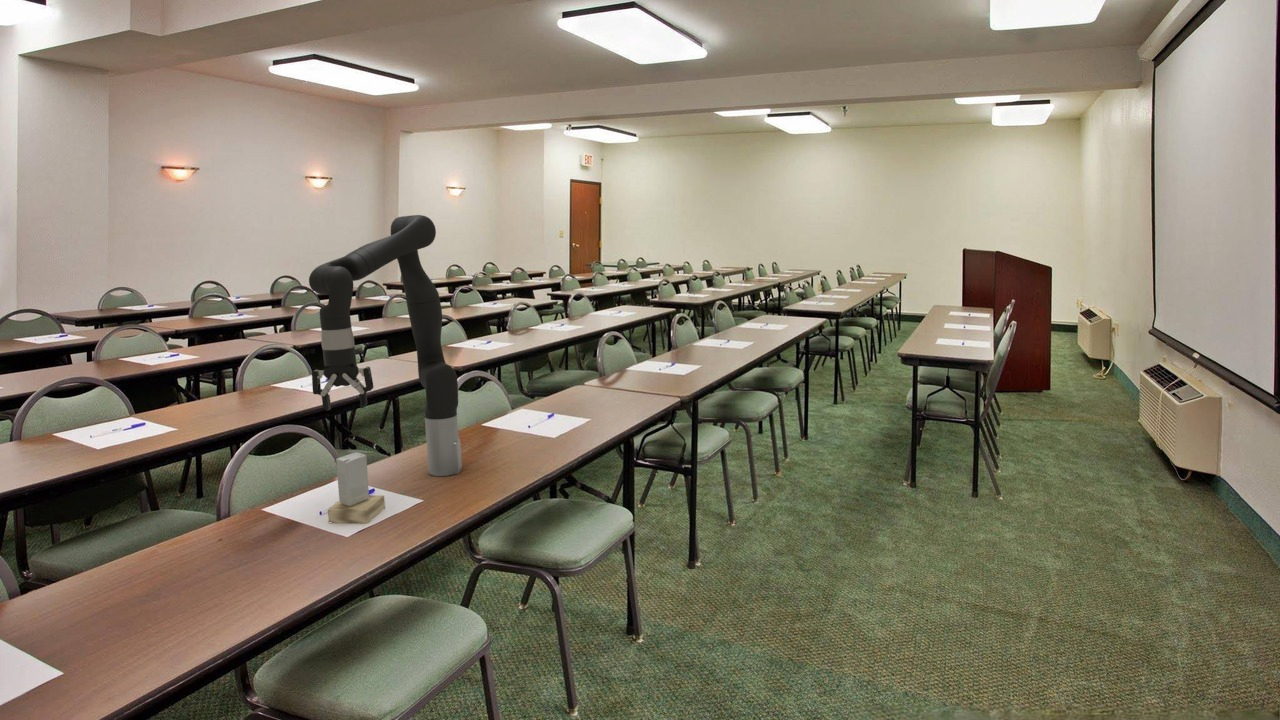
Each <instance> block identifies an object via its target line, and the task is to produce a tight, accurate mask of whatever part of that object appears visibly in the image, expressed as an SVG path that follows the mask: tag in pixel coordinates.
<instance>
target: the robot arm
mask: <svg viewBox="0 0 1280 720" xmlns="http://www.w3.org/2000/svg"><path fill="white" fill-rule="evenodd" d="M436 233H437V231H436V226H435V224H434V221H433V220H432V219H431V218H430V217H429V216H425V215H422V214H411V215H403V216H398V217H396V218H395V219H394V220H393V221H392V222H391V225H390V235H389V236H386V237H383V238H380V239H378V240H374V241H372V242H370V243H369V242H368V243H366V244H365V245H361V246H360V247H358V248H357V249H355V250H353V251H351V252H348V254H346V255H345V256H341V257H339V258H335V259H333V260H331V261H328V262H325V263H322V264H320V265H318V266H316V267H315V268H314V269H313V270H312V271H311V272H310V274H309V278H308V285H309V286H310V288H311V290H312V291H314V293H317V294H318V295H324V296H327V295H328V301H327V304H326V305H323V306H321V307H320V309H319V321H320V329H321V334H320V336H321V339H320V340H321V343H320V344H321V348H322V356H323V364H324V365H323V366H324V369H323V370H319V369H315V370H313V371H312V372H311V381H312V382H311V383H312V385H311V386H312V394H313V395H318V396H320V397H321V401H322V407H323V409H325V411H330V410H332V403H331V397H330V394H329V392H330V391H331V389H332V388H333V387H342V386H343V387H349V386H351V387H353V389H355V390H356V391H357V392H358V393H359V394H358V399H359V406H360V409H364V408H366V406H367V405H368V395H367V393H368V392H371V391H372V390H373V389H374V388H375V387H374V386H375V385H374V381H373V377H372V370H371V367H370V366H366V367H361V368H359V367H358V365H357V364H358V363H357V355H356V354H357V353H356V347H355V346H356V345H355V338H354V332H353V328H352V319H351V312H350V311H351V306H352V301H353V292H354V282H356V281H361V280H362V279H364V278H366V277H368V276H369V275H371V274H372V273H375V272H376V271H378V270H380V269H381V268H383V267H384V266H386V265H387V264H390V263H392V262H393V261H395V260H397V264H398V265H399V271H400V275H401V279H402V285H403V289H404V293H405V300H406V301H405V302H406V307H407V313H408V317H409V323H410V325H411V331H412V336H413V340H414V344H415V347H416V355H417V356H416V357H417V358H416V359H417V373H418V380H419V382H420V384H421V386H422V387H423V388H424V389H425V390H426V391H425V392H426V394H425V395H426V405H425V406H424V408H423V411H424V412H423V413H424V423H425V425H424V426H425V438H426V452H427V454H426V455H427V469H428V474H429V475H431V476H434V477H447V476H452V475H459V474H460V472H461V470H462V468H463V465H462V463H463V462H462V450H461V449H462V448H461V447H462V446H461V438H460V437H459V427H458V411H457V409H458V407H459V385H458V384H459V383H458V382H459V381H458V376H457V373H456V370H455V369H454V367H452V366H451V365H450V364H447V363H446V361H445V355H444V352H443V347H442V339H441V338H442V329H443V311H442V310H443V308H442V304H441V299H440V298H441V297H440V293H439V291H438V290H437V289H438V288H436V286H435V284H434V283H433V281H432V279H430V277H429V276H428V274H427V273H426V272H425V270H424V268H423V266H422V263H421V261H420V256H419V250H421V249H424V248H427V247H430V245H432V244H433V242H434V241H435V239H436V235H437V234H436ZM359 374H360V376H361V377H362V378H363V377H364V383H365V386H364V384H362V381H361V380H360V379H359V378H358V375H359ZM323 377H325V378H326V379H327V380H328V381H327V382H326V384H325V386H324V387H323V389H322V388H321V387H322V386H321V379H322V378H323Z"/></svg>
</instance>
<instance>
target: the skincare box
mask: <svg viewBox="0 0 1280 720" xmlns="http://www.w3.org/2000/svg"><path fill="white" fill-rule="evenodd" d="M335 462H336V472H337V476H336V477H337V486H338V487H337V488H338V499H339V500H338V501H339V502H340V503H342V504H344V505H347V506H352V505H354V504H357V503H359V502H362V501H364V500H366V499H369V495H370V493H369V492H370V488H369V478H368V477H369V476H368V474H369V473H368V459H367V455H366V454H364V453H360V452H358V451H355V452H352V453H349V454H347V455H343V456H339V457H338V458H336V459H335Z"/></svg>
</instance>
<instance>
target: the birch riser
mask: <svg viewBox="0 0 1280 720" xmlns="http://www.w3.org/2000/svg"><path fill="white" fill-rule="evenodd" d="M385 503H386V501H385V495H381V494H380V495H379V494H377V495H376V494H375V495H372V494H369V499H366V500H364V501H362V502H359V503H357V504H354V505H352V506H347V505H344V504H342V503H340V502H339V500H338V501H337V502H336V503H335V504H333V505H331V506H330V507H329V508H328V509H326V510H327V518H328V519H327V520H328V523H329V522H332V523H331V524H359V523H360V524H363V525H365V524H366V525H367V524H369V523H370V522H371V521H372V520H373V519H375V518H376V517H377V516H378V515H379V514H380V513H381V511H382V510H383V509H384V510H385V509H386V505H385ZM384 510H383V511H384ZM383 511H382V512H383Z"/></svg>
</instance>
